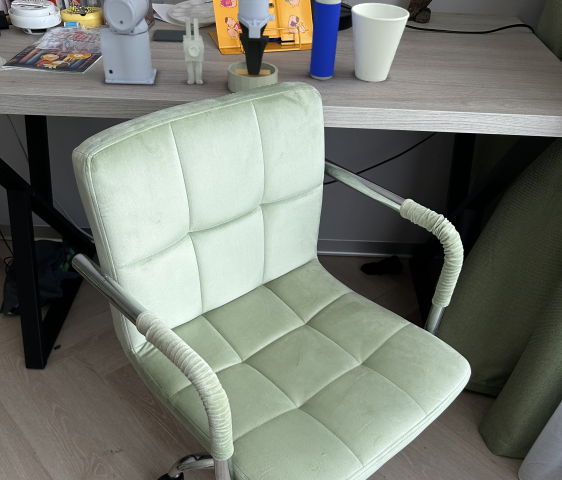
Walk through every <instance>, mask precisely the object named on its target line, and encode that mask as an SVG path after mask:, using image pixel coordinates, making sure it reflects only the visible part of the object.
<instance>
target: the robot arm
mask: <svg viewBox="0 0 562 480" xmlns="http://www.w3.org/2000/svg"><path fill="white" fill-rule="evenodd" d="M237 2H238V3H237V5H238V6H237V8H238V13H237V21H238V25H239V28H240V30H241V32H238V39H239V41H240V44H241V46H242V49H243V53H244V59H245V61H246V65H247V71H248V74H249V75H259V73H260V68H261V63H262V62H263V57H264V53H265V50H266V47H267V45H268V43H269V41H270V36H269V35H266V34H265V31H266V28H267V25H268V23H269V22H274V21H275V20H276V15H275V14H274V13H270V0H237ZM149 3H150V2H149V0H104V2H103V11H102V12H103V16H104V19H105V21H106V23H107V24H108V25H109V27H102V28H100V30H99V31H100V32H99V46H100V52H101V53H100V54H101V60H102V67H103V72H104V77H105V79H104V81H105V83H106V84H123V85H124V84H125V85H126V84H128V85H154V83H155V79H156V76H157V68H156V67H155V68H153V63H152V52H151V51H152V50H151V44H150V43H151V42H150V35H149V33H150V32H149V25H148V23H147V21H146V18H145V17H146V16H147V14H148V13H149V8H150V7H149V6H150V4H149Z"/></svg>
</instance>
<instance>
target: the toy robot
mask: <svg viewBox="0 0 562 480" xmlns="http://www.w3.org/2000/svg"><path fill="white" fill-rule="evenodd" d="M192 19H193V20H192V21H193V22H192V23H193V24H192V25H193V31H194V35H191V31H192V30H191V29H192V28H191V18H190V17H186V18H184V20H185V21H184V22H185V30H186V35H183V42H182V50H183V51H182V52H183V56H184V62H186V72H187V79H188V80H187V81H186V83H187V84H189V85H192V84H195V83H196V84H197V85H202V84H204V80H202V79H203V78H202V77H203V76H202V75H203V74H202V73H203V65H202V62H204V54H205V46H204V45H205V44H204V41H203V37H202V35H201V34H200V32H199V31H200V29H199V18H198V17H197V18H196V17H195V18H194V17H193V18H192Z"/></svg>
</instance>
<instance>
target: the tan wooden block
mask: <svg viewBox="0 0 562 480" xmlns="http://www.w3.org/2000/svg"><path fill="white" fill-rule="evenodd" d="M235 74H238V75H241V76H247V77H264V76H268V75H270V70H260V73H259V75H249V74H248V71H247V69H235Z"/></svg>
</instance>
